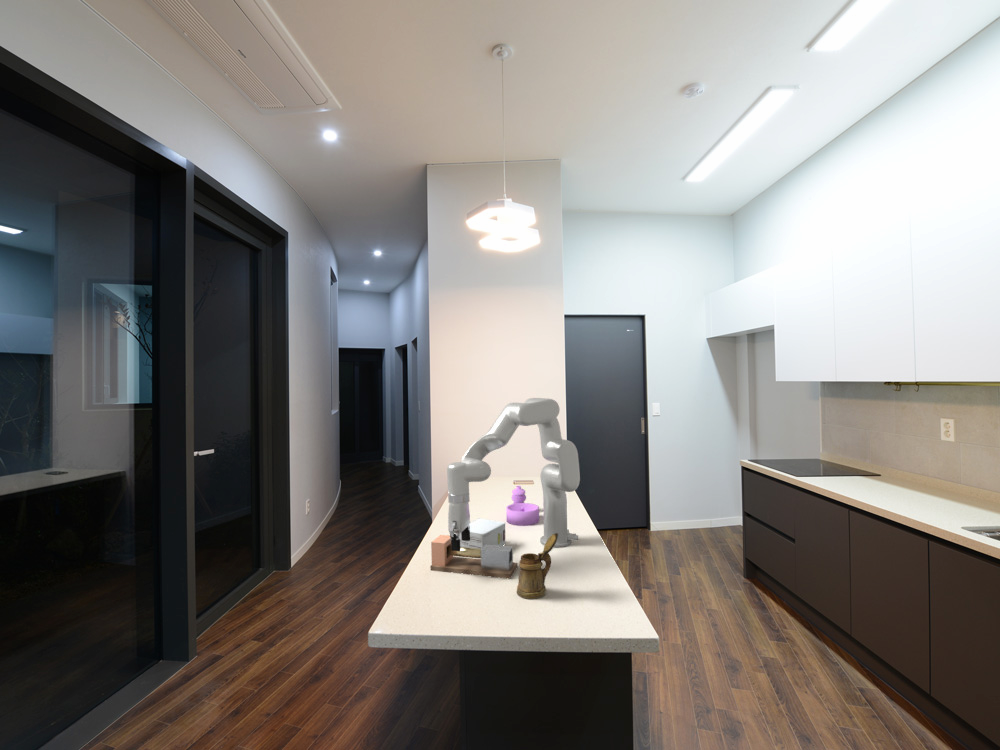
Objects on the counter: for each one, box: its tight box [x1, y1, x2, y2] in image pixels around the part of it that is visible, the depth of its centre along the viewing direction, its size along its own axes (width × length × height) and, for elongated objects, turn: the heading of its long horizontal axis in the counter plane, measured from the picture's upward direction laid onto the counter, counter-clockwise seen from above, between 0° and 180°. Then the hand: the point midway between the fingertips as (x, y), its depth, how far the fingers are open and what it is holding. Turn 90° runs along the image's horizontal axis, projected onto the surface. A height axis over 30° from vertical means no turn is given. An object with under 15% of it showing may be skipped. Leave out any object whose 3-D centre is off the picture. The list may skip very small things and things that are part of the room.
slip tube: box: [447, 546, 481, 559], centre depth 165 cm, size 20×3×3 cm, turn 74°
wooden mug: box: [516, 533, 558, 600], centre depth 146 cm, size 9×14×18 cm, turn 98°
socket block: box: [430, 534, 454, 566], centre depth 168 cm, size 5×8×8 cm, turn 164°
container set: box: [505, 485, 540, 527], centre depth 223 cm, size 25×15×13 cm, turn 5°
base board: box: [430, 556, 518, 580], centre depth 164 cm, size 29×10×2 cm, turn 74°
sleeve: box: [481, 544, 514, 571], centre depth 162 cm, size 10×5×6 cm, turn 74°
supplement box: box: [454, 518, 506, 549], centre depth 184 cm, size 17×13×9 cm
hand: (461, 545), depth 166 cm, fingers open, 9 cm apart
